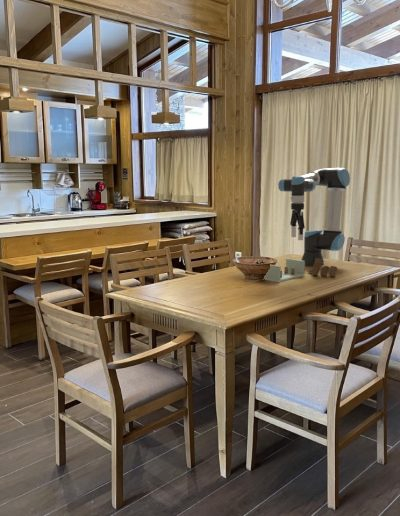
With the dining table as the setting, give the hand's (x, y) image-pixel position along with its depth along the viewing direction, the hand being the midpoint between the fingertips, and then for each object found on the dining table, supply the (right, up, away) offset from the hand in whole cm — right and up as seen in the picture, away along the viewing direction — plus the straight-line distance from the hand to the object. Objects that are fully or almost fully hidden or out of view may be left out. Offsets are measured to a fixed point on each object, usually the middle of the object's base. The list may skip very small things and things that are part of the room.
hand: (296, 238), depth 292 cm
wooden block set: (+16, -23, +7) cm, 28 cm away
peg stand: (-8, -23, +3) cm, 25 cm away
